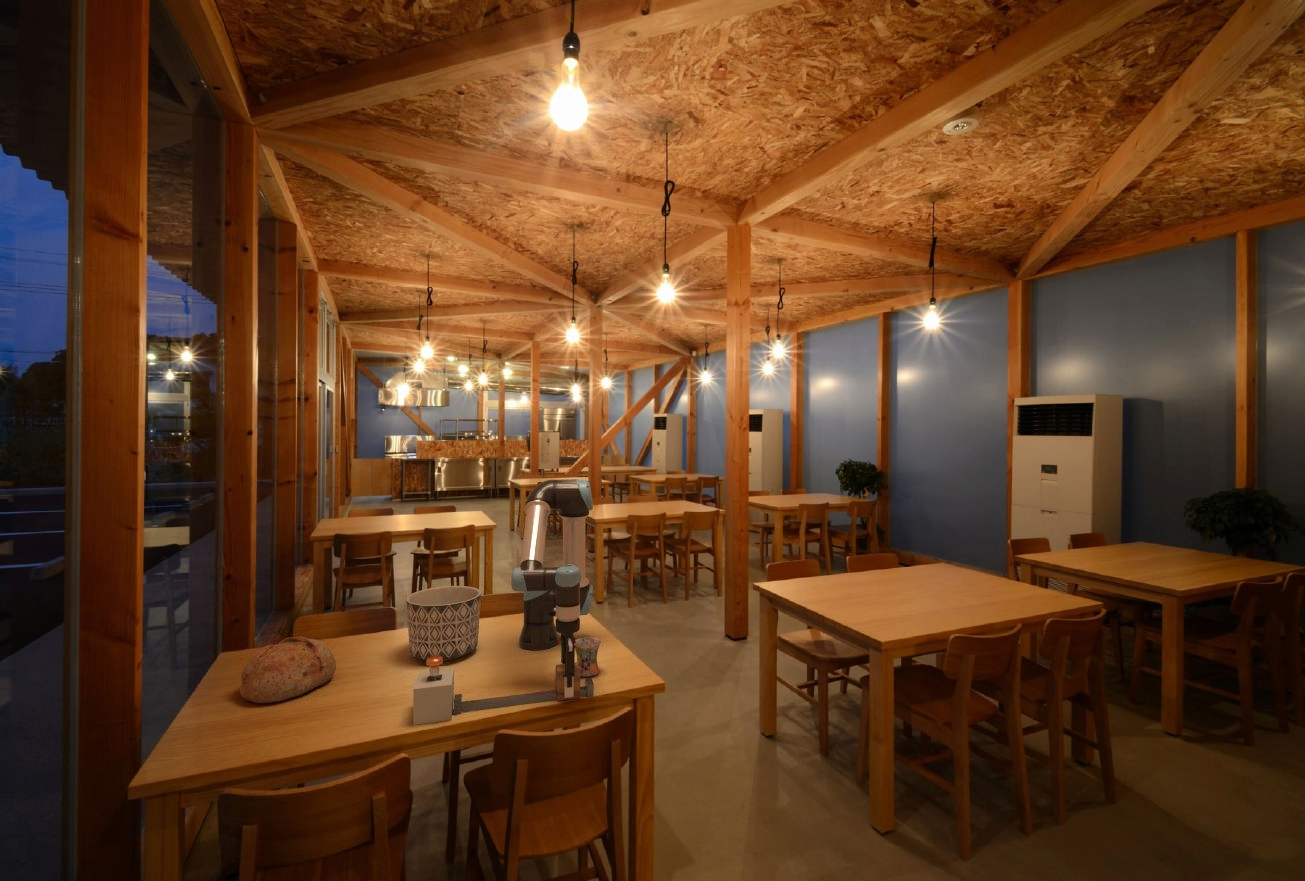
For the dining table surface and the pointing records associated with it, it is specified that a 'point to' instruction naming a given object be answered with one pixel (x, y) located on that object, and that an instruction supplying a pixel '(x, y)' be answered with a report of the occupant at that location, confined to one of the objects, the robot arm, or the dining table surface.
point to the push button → (434, 666)
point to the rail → (515, 699)
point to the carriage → (560, 681)
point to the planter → (443, 621)
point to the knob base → (433, 697)
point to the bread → (286, 670)
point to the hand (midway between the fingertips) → (567, 692)
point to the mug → (587, 655)
